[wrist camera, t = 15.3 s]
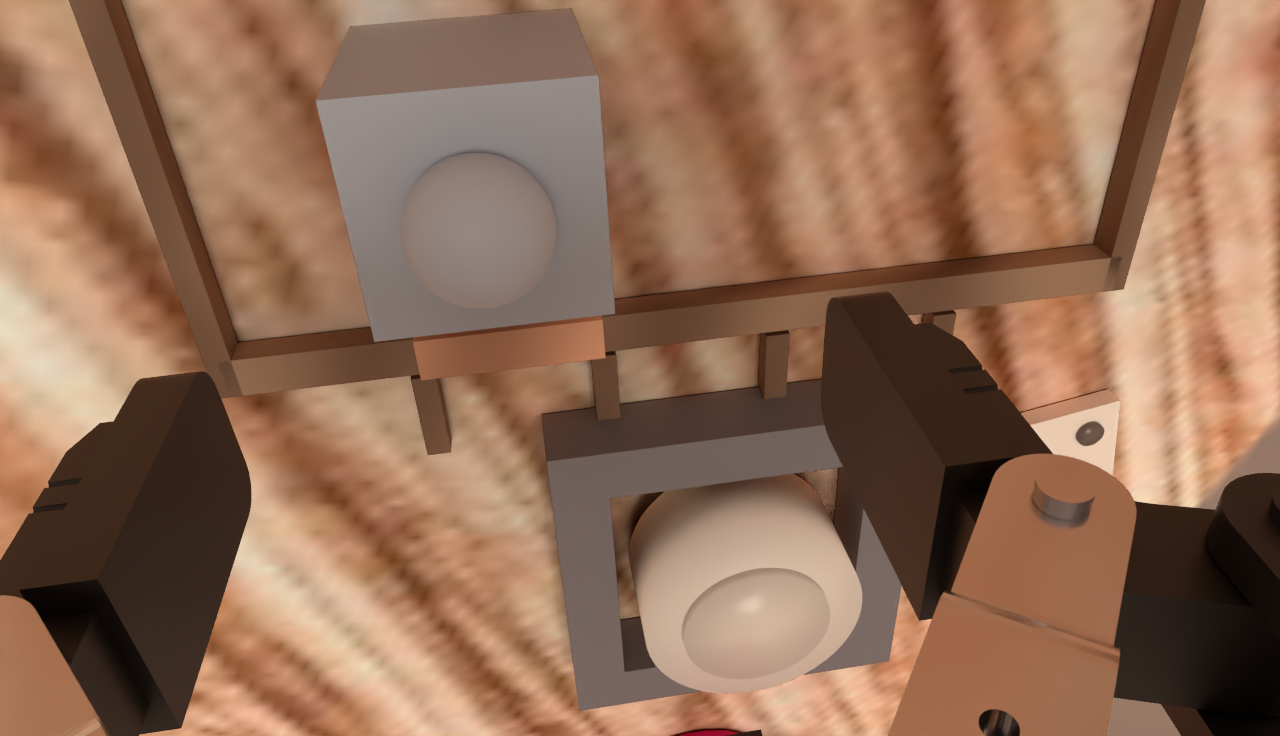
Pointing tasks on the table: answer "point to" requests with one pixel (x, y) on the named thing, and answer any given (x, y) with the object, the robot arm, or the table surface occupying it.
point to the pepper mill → (710, 733)
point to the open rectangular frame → (634, 317)
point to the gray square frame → (676, 459)
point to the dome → (742, 584)
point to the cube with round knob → (471, 172)
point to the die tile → (1080, 427)
